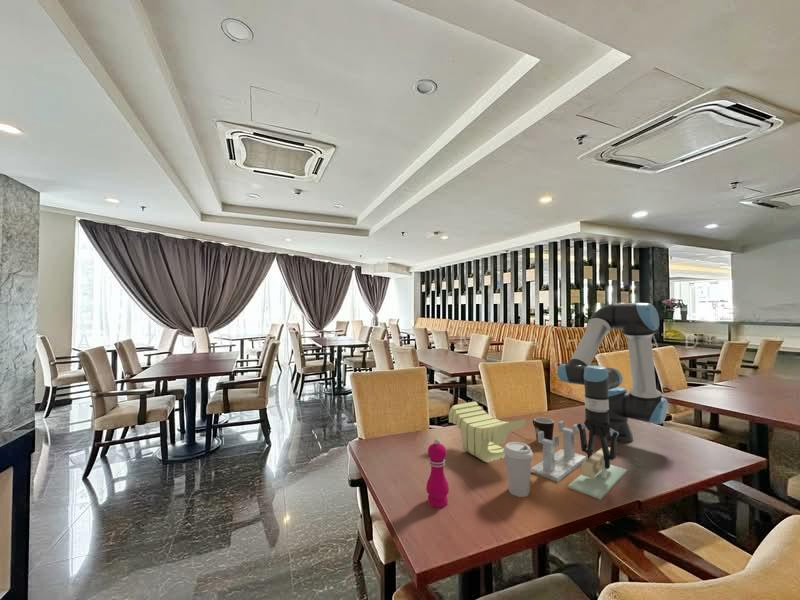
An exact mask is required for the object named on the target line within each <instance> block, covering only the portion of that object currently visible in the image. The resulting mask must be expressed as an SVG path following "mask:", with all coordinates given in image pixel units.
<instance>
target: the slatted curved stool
mask: <svg viewBox="0 0 800 600" xmlns="http://www.w3.org/2000/svg"><path fill="white" fill-rule="evenodd" d="M448 423H452V424H454V425H456V427H458V429H459V430H460V436H461V442H462V448H463V450H464V451H465V452H467V453H469V454H471V455H472V456H474V457H476V458H478V459H479V460H481V461H482V462H485V463H490V461H491V462H494V461H493V460H495V461H498V460H501V459H500V458H502V459H504V457H505V454H504V452H503V450H504V447H502V446H501V445H504V444H506V440H507V437H508V435H509V434H511V432H513V431H514V430H518V429H519V428H524V427H526V426H527V418H522V419H519V420H514V421H502V420H500V419H498V418H495V417H494V416H492V415H490V414H489V413H487V411H486V410H483V407H481V406H480V405H479V404H478V403H477V401H469V402H465V403H459V404H455V405H452V406H451V407H450V409H449V411H448ZM497 459H498V460H497Z"/></svg>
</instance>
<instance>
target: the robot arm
mask: <svg viewBox="0 0 800 600" xmlns="http://www.w3.org/2000/svg"><path fill="white" fill-rule="evenodd" d="M586 325H587V328H586V330H585V332H584V334H583V336H582V337H581V338H580V341H579V343H578V344H577V346H576V348H575V350H574V352H573V353H572V355H571V357H570V359H569V361H568V363H561V364H558V367H557V371H556V373H557V378H558V379H559V381H561V382H564V383H568V384H574V385H580V386H584V407H585V409H584V412H585V413H584V415H585V421H584V422H579V423H576V424H577V427H578V432H579V437H580V439H579V440H580V447H581V448H580V449H581V451H582V452H583V453H585V454H586V455H587V459H588V458H589V457H591V456H592V455H593V454H594V448H595V441H596V436H597V437H598V436H599V437H598V438H599V440H600V444H601V448H602V450H603V456H604V458H603V459H602V478H604V479H605V478H606V477H607V469H609V468H610V465H611V462H610V460H612V461H613V460H615V458H616V457H617V444H618V443H630V442H632V441H633V439H634V438H633V432H632V429H631V428H630V425H629V423H628V419H631V420H634V421H640V422H644V423H648V424H655V425H661V424H663V423H664V422H665V419H666V417H667V415H668V414H667V413H668V406H669V402H668V399H666V397H662V392H661V391H660V390H658V389H657V383H656V373H655V372H656V371H655V363H654V355H653V352H654V351H653V345H652V336H654V335H655V333H656V332H655V331H657V330H659V327H660V315H659V312H658V310H657V308H656V307H655V306H654V305H653V304H652V303H648V302H630V303H629V302H626V303H625V302H624V303H623V302H622V303H611V304H606V305H604V306H602V307H601V308H599V309H598V310H597V311H595V312H594V313H593V314H592V315H591V316H590V317H589V319H588V321H587V324H586ZM615 329H616V330H622V334H623V335H624V336H625V337H626V338H627V345H628V346H627V349H628V355H629V366H630V375H631V384H632V388H631V389H629V391H628V390H627V388H625V387H620V386H621V384H622V383H623V380H624V379H623V378H624V377H623V375H622V373H621V372H620V371H619V370H618V369H616V368H614V367H605V366H601V365H592V364H591V363H592V362H593V360H594V358H595V356H596V354H597V353H598V350H599V348H600V347H601V344H602V342H603V340H604V338H605V336H606V335H607V334H609V333H610V332H611V330H615ZM586 429H587V431H589V432H588V440H587V433H586ZM609 440H610V454H609V449H608V447H609V444H608V441H609Z"/></svg>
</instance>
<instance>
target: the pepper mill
mask: <svg viewBox="0 0 800 600" xmlns="http://www.w3.org/2000/svg"><path fill="white" fill-rule="evenodd" d="M427 454H428V458H429V465H430V474H429V478H428V479H427V482H426V492H427V495H428V496H427V504H428V505H429V506H431V507H433V508H435V507H436V508H437V509H441V507H442V508H444V507H446V506H447V505H448V503H449V502H448V500H449V499H448V496H447V495H449V492H450V486H449V483H448V481H447V478H446V475H445V471H444V467H445V466H446V457H447V449H446V446H444V444H443V443H441V441H440V439H438V438H436V439H434V441H433V443H432V444H430V445H429V446H428V448H427Z"/></svg>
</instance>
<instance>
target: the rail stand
mask: <svg viewBox="0 0 800 600" xmlns="http://www.w3.org/2000/svg"><path fill="white" fill-rule="evenodd" d="M577 424H578V423H575V424H573V425H572V428H568V427H566V426H565V421H564V420H561V421H558V432H562V435H563V436H562V437H563V441H562V442H563V449H562V448H560V449H559V450H556V452H555V448H556V447H558V446H560V437H559V435H557V434H555V435H553V437H552V440H548V439H545V438H544V432H543V431H540V432H538V442H539V443H542V444H541V445H542V461H540V462H538V463H537V464H535V465H534V466H531V472H530V473H533V474H534V475H537V474H538V476H540V477H543V478H545V479H547V480H548V479H549V480H551V481H554V482H557V483H559V482H560V481H562V479H564V478H565V477H566V476H568V475H569V474H571V473H572V472H574V470H575V469H577V468H579V466H582V463H583V462H584V461H586V460H587V456H585V455H583V454H579V453H576V452H575V436H576V435H578V434H579V429H578V427H577ZM538 442H537V443H538ZM539 443H538V444H539Z"/></svg>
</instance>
